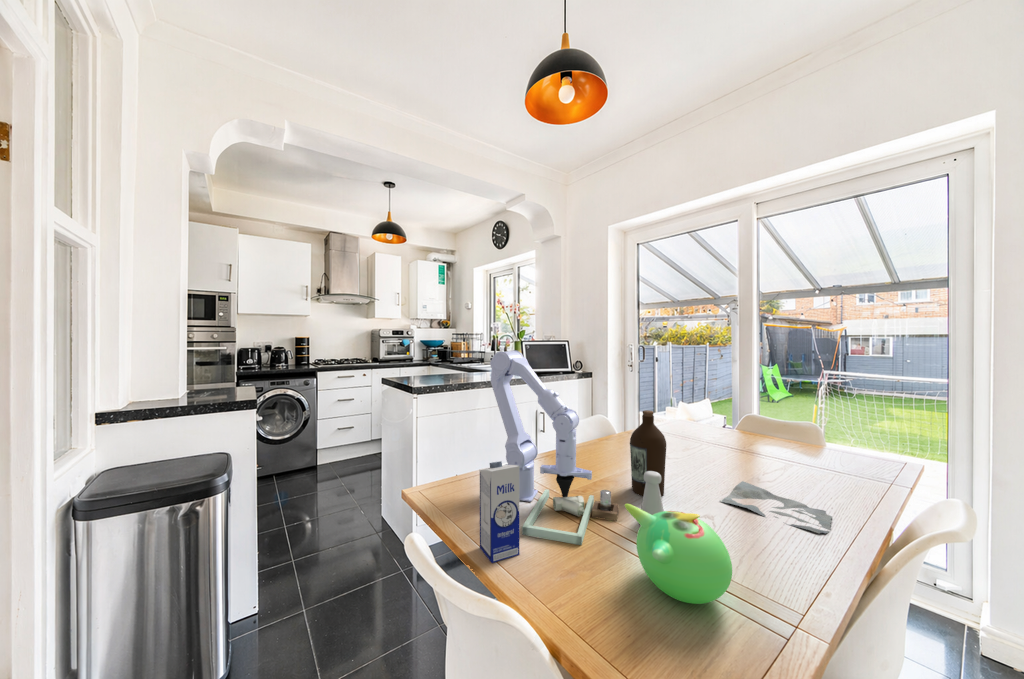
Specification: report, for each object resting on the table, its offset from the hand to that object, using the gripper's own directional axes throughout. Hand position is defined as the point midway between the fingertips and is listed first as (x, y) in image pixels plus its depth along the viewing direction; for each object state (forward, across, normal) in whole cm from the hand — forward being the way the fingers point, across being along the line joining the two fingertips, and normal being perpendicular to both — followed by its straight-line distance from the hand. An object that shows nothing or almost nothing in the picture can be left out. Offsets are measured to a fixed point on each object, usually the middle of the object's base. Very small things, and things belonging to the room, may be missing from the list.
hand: (565, 500), depth 109 cm
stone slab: (+2, +56, +16) cm, 59 cm away
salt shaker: (+1, +23, -3) cm, 23 cm away
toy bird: (+1, +27, -29) cm, 39 cm away
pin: (+1, +11, -2) cm, 11 cm away
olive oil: (+1, +22, +17) cm, 28 cm away
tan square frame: (+1, +11, -2) cm, 11 cm away
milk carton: (+2, -10, -27) cm, 29 cm away
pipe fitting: (+2, +2, -4) cm, 5 cm away
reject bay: (+1, 0, -7) cm, 7 cm away
